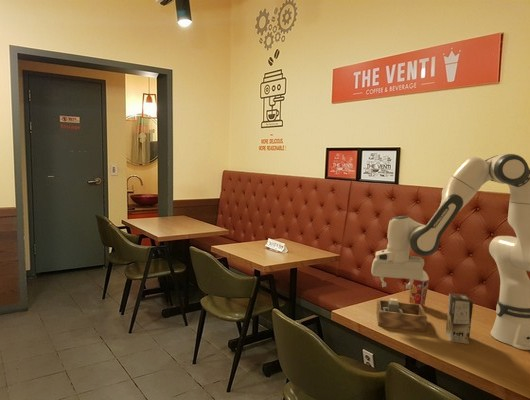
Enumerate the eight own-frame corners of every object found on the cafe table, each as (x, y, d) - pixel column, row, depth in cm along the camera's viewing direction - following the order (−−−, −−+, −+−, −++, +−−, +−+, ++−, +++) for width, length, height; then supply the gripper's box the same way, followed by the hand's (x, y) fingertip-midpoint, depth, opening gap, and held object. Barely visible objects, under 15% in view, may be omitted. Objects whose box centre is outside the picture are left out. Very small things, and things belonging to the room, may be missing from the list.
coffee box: (469, 344, 147) (473, 302, 145) (450, 342, 148) (455, 300, 146) (462, 333, 156) (466, 294, 154) (445, 331, 157) (448, 292, 155)
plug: (397, 316, 167) (398, 298, 166) (398, 320, 163) (399, 301, 162) (387, 315, 167) (388, 297, 167) (387, 319, 164) (389, 300, 163)
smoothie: (430, 308, 181) (434, 266, 179) (414, 309, 179) (418, 266, 177) (418, 302, 189) (422, 261, 187) (403, 303, 187) (407, 261, 185)
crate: (419, 317, 170) (420, 304, 169) (425, 331, 156) (426, 317, 155) (376, 312, 173) (377, 299, 173) (378, 325, 160) (379, 311, 159)
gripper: (423, 255, 163) (421, 287, 165) (372, 251, 168) (370, 283, 169) (426, 258, 157) (423, 292, 159) (372, 255, 162) (371, 288, 163)
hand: (396, 287), depth 164 cm, fingers open, 8 cm apart
